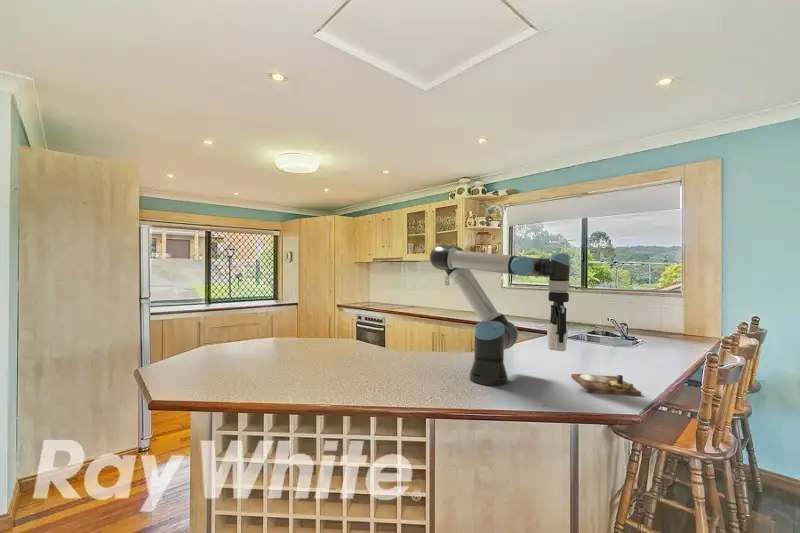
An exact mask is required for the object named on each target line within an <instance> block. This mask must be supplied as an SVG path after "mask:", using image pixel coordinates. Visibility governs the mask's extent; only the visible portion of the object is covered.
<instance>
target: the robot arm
mask: <svg viewBox="0 0 800 533" xmlns="http://www.w3.org/2000/svg"><path fill="white" fill-rule="evenodd" d="M429 261H430V264H431V265H432V266H433V268H435V269H437V270H440V271H441V270H442V271H445V273H446V275H447V276H448V278H449V279H452V280H454V281H455V283H456V284H457V286H458V287H459V289H460V291H461V292H462V294H463V296H464V297H465V299H466V300H467V302H468V303H469V305H470V306H471V308H472V310H473V311H474V313H475V314H476V316H477V318H478V319H479V322H478V323H476V324H475V326H474V331H473V334H474V352H473V354H474V355H473V356H474V357H473V358H474V359H473V362H472V365H471V369H470V372H469V380H470V381H471V382H473V383H476V384H479V385H485V386H502V385H505V384H506V385H507V384H508V383H509V382H508V381H509V376H508V372H507V370H506V367H505V361H504V356H505V354H504V352H505V351H504V350H507V349H510V348H512V347H513V346H514V345H515V344H516V343H517V341H518V339H519V338H518V337H519V332H518V329H517V327H516V325H515V324H514V323H512V322H510V321H508V319H507V318H506V316H505V315H504V314H503V313H501V312H498V310H497V309H496V308H495V305H494V304H493V303H492V301H491V299H490V298H489V297H488V295H487V294H486V292H485V290H484V289H483V288H482V286H481V284H480V283H479V282H478V280H477V278H476V277H475V276H474V273H473V272H472V271H471V270H473V271H482V272H488V273H489V272H490V273H497V274H504V275H505V274H508V275H512V276H513V275H515V276H519V277H546V278H547V277H548V291H549V292H548V302H553V303H552V304H551V305H550V317H549V319H550V320H549V323H552V324H554V325H557V332H556V334H557V337H556V351H555V352H565V351H564V335H565V334H566V325H567V307H565V305H564V303H569V302H570V300H569V298H570V293H569V291H570V287H571V284H570V273H571V272H570V268H571V263H570V254H568V253H563V252H562V253H561V252H559V253H558V252H557V253H556V252H555V253H554V252H553V253H550V254H549V257H545V258H542V257H540V258H539V257H538V258H537V257H530V256H523V255H509V254H499V253H490V252H479V251H468V250H467V251H466V250H464V249H463V248H462V247H459V246H456V245H447V244H439V245H436V246H435V247H433V249H432V250H431V251H430V254H429Z"/></svg>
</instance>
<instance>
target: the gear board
mask: <svg viewBox="0 0 800 533" xmlns="http://www.w3.org/2000/svg"><path fill="white" fill-rule="evenodd" d="M571 378H572V379H573V380H574V381H575V382H576V383H577V384H578V385H580V387H582V388H583V389H584V390H585V391H586V392H587V393H591V394H592V393H593V394H606V395H618V394H621V395H622V396H633V397H634V396H636V397H642V391H640V390H638V389H637V388H636V387H635V386H634V384H633V383H629V382H627V381H624V380H623V379H624V378H623V375H622V374H617V375H615V376H613V375H598V374H582V373H579V374H578V373H571Z"/></svg>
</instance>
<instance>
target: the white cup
mask: <svg viewBox="0 0 800 533" xmlns="http://www.w3.org/2000/svg"><path fill="white" fill-rule="evenodd" d="M546 329H547V330H546V332H547V333H546V334H547V336H546V338H547V349H548V350H550V351H555V352H557V351H556V337H557V334H556V332H557V325H554V324H552V323H550V322H549V323H546ZM568 334H569V325H568V324H566V334H565V335H564V351H563V352H566V351H567V343H568V338H569V337H568V336H569V335H568Z"/></svg>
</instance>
